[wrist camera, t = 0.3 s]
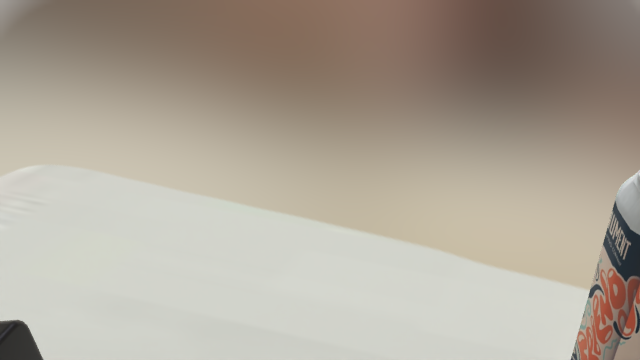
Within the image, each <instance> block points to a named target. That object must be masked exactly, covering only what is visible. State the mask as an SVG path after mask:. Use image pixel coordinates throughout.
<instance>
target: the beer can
mask: <svg viewBox="0 0 640 360" xmlns="http://www.w3.org/2000/svg"><path fill="white" fill-rule="evenodd" d="M571 360H640V170H639V171H638V172H637V173H636V174H635V175H634V176H632V177H630V178H629V179H628V180H627V181H625V182H624V183H623V184H622V185H621V187H620V189H619V191H618V193H617V195H616V200H615V204H614V207H613V210H612V214H611V218H610V221H609V225H608V228H607V232H606V236H605V239H604V243H603V246H602V250H601V254H600V257H599V261H598V264H597V268H596V271H595V275H594V279H593V283H592V286H591V289H590V293H589V297H588V300H587V304H586V307H585V311H584V315H583V318H582V322H581V325H580V329H579V332H578V336H577V340H576V343H575V347H574V350H573V354H572V358H571Z"/></svg>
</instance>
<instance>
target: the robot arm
mask: <svg viewBox="0 0 640 360" xmlns="http://www.w3.org/2000/svg"><path fill="white" fill-rule="evenodd" d="M0 360H43V358H42V356H41V354H40V352H39V349H38V347H37V345H36V343H35V341H34V338H33V336H32V334H31V332H30V330H29V328H28V326H27V325H26V324H25V323H24V322H23V321H20V320H10V321H0Z"/></svg>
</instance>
